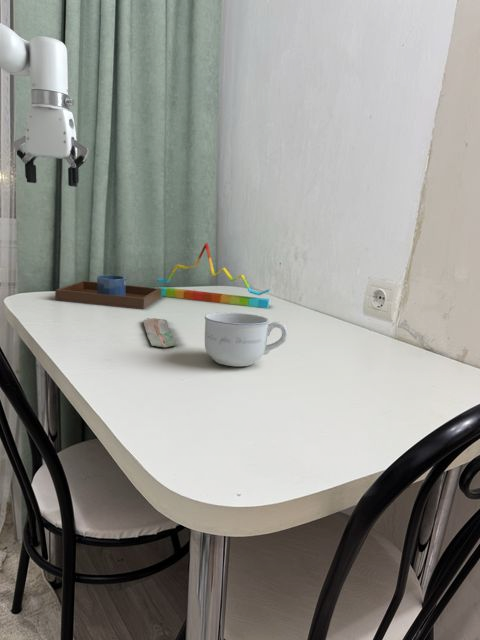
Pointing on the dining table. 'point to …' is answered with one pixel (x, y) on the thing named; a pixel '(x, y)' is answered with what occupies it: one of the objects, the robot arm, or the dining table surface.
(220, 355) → the teacup
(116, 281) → the blue short cylinder
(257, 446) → the dining table surface
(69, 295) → the tray
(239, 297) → the chart
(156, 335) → the map
